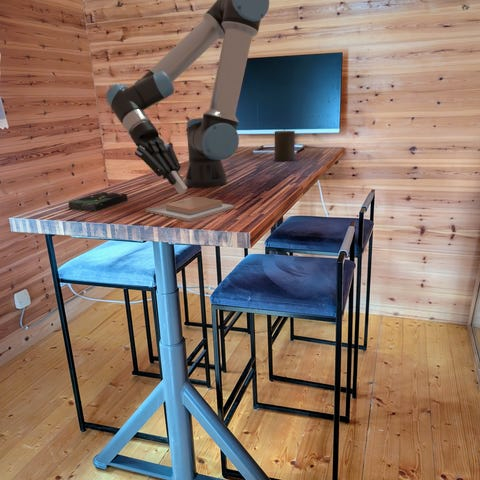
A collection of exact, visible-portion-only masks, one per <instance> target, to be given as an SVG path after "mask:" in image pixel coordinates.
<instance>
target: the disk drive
mask: <svg viewBox="0 0 480 480" xmlns="http://www.w3.org/2000/svg"><path fill="white" fill-rule="evenodd" d="M127 201H128V194H127V193H119V192H118V193H117V192H112V193H111V192H110V193H108V192H107V191H106V192H103V191H102V192H98V193H94V194H92V195H88V196H84V197H81V198H78V199H74V200H71V201H67V202H68V209H69V210H74V211H85V212H98V211H101V210H103V209H106V208H107V209H108V208H110V207H113V206H116V205H118V204H122V203H125V202H127Z"/></svg>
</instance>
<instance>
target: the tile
mask: <svg viewBox="0 0 480 480" xmlns="http://www.w3.org/2000/svg"><path fill="white" fill-rule="evenodd" d="M189 198H190V199H188V198H185V199H186V200H184V199H181V200H182V201H180V200H177V201H178V202H176V201H173V202H174V203H172V202H169V203H170V204H168V203H165V204H166V210H167V211H172V212H177V213H182V214H187V215H194V214H197V213H201V212H204V211H208V210H211V209H215V208H218V207H221V206H222V204H223V200H221V199H213V198H207V197H201V196H193V197H189Z"/></svg>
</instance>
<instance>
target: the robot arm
mask: <svg viewBox="0 0 480 480" xmlns="http://www.w3.org/2000/svg"><path fill="white" fill-rule="evenodd" d="M269 8H270V0H216V1H215V2H214V4H213V5H212V6H211V7H210V8H209V9H208V10H207V11H206V12H204V14H203V17H202V20H201V21H200V22H199V23H198V24H197V25H196V26H195V27H194V28H193V29H192V30H191V31H190V32H188V33H187V34H186V36H184V37H183V38H182V39H181V40H180V41H179V42H177V44H176V45H174V47H173V48H172V49H170V51H168V52H167V54H165V55H164V57H162V58H161V59H160V60H159V61H158V62H157V63H156V64H155V65H154V66H152V67H151V68H150V69H149V71H148V72H146V73H145V74H144V75H143V76H142V77H141V78H139V79H138V80H137V81H135V83H134V84H133V85H130V86H129V87H128V86H127V85H126V84H124V83H115V84H114V85H112V86H110V87H109V88H108V90H107V91H106V94H105V99H106V102H107V104H108V105H109V107H110V109H111V111H112V112H113V113H114V115H115V116H116V118H117V119H118V121H119V122H120V123H121V124H122V126H123V128H124V129H125V131H126V132H127V134H128V135H129V136H130V138H131V140H132V141H133V143H134V144H135V146H136V147H137V148H136V150H135V152H134V155H135V156H137V157H138V158H139V159H141V160H142V161H143V162H144V163H145V164H146V165H147V166H148V168H150V169H151V170H152V171H153V172H154V173H155V175H157V177H161V176H162V180H163V179H164V180H167V182H169V184H170V185H171V186H172V187H174V189H175V191H176V192H177V194H178V195H179V196H181V195H184V194H185V193H186V192H187V190H188V187H191V188H211V187H220V186H223V185H226V184H227V183H228V177H227V173H226V171H225V167H224V166H223V163H222V161H223V160H226V159H229V158H231V157H232V156H233V155H234V154H235V153H236V151H237V149H238V147H239V145H240V137H239V134H238V126H239V120H238V117H237V116H236V113H237V108H238V103H239V99H240V95H241V89H242V85H243V81H244V80H243V79H244V75H245V70H246V68H247V61H248V57H249V54H250V47H251V43H252V39H253V38H254V37H255V36H257V35H258V34H259V30H260V25H261V20H262V19H263V18H264V17H265V16H266V15H267V13H268V11H269ZM218 40H222V46H221V50H220V54H219V55H220V56H219V60H218V64H217V65H218V66H217V70H216V72H215V73H216V74H215V79H214V83H213V87H212V88H213V89H212V93H211V97H210V98H211V99H210V104H209V109H208V110H206V111H205V112H203V116H202V117H198V118H190V119H188V120H187V121H186V129H185V131H186V135H187V139H186V140H187V153H188V165H187V167H188V168H187V170H186V174H185V178H184V179H185V182H184V179H183V177H182V176H181V174H180V173H179V171H180V169H181V168H182V166H181V164H180V162H179V160H178V157H177V155H176V153H175V151H174V144H173V143H172V142H168V143H166V142H164V140H163V139H162V138H161V137H160V135H159V131H158V129H157V128H156V126H155V125H154V124H153V122H152V121H151V119H150V118H149V117H148V115H147V114H146V113H145V111H144V110H147V109H148V108H150V107H152V106H154V105H156V104H158V103H160V102H161V101H163V100H165V99H168V98H169V97H170V96H172V95H173V94H174V93H175V87H174V84H173V82H174V81H175V80H177V78H179V77H180V76H181V75H182V74H183V73H184V72H185V71H186V70H187V69H189V67H191V66H192V64H193V63H195V62H196V61H197V60H198V59H199V58H200V57H201V56H202V55H203V54H204V53H205V52H206V51H207V50H208V49H210V48H211V47H212V45H214V44H215V43H216V42H217V41H218Z"/></svg>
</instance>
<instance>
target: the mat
mask: <svg viewBox="0 0 480 480" xmlns="http://www.w3.org/2000/svg"><path fill="white" fill-rule="evenodd" d="M190 198H191V197H188V198H184V199H180V200H176V201H172V202H168V203H165V204H160V205H157V206H156V205H155V206H152V207H148V208H145V213H148V212H150V213H149V214H153V213H155V214H154V215H157V214H159V215H158V216H162V215H163V216H162V217H166V216H168V217H167V218H171V217H172V218H171V219H175V218H177V219H176V220H180V221H181V220H182V221H185V222H193V221H195V220H199V219H203V218H207V217H209V216H212V215H215V214H218V213H221V212H224V211H229V210H232V209H234V205H233V204H227V203H222V206H221V207H218V208H215V209H211V210H208V211H204V212H201V213H197V214H194V215H187V214H182V213H177V212H172V211H167V210H166V204H170V203H174V202H178V201H182V200H186V199H190Z"/></svg>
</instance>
